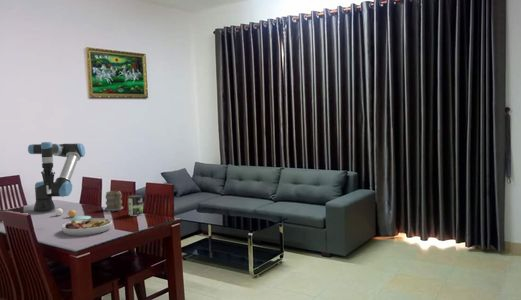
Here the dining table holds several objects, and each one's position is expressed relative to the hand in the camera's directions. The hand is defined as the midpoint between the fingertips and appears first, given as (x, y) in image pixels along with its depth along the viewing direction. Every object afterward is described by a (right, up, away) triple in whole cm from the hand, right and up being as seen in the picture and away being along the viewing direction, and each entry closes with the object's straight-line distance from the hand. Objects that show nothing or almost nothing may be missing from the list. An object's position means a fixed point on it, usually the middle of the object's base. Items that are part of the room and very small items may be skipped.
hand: (49, 193), depth 324 cm
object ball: (+22, -14, -10) cm, 27 cm away
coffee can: (+67, -15, -4) cm, 69 cm away
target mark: (+30, -16, -14) cm, 37 cm away
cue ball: (+9, -13, -3) cm, 17 cm away
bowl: (+49, -19, -49) cm, 72 cm away
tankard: (+46, -15, +14) cm, 50 cm away
